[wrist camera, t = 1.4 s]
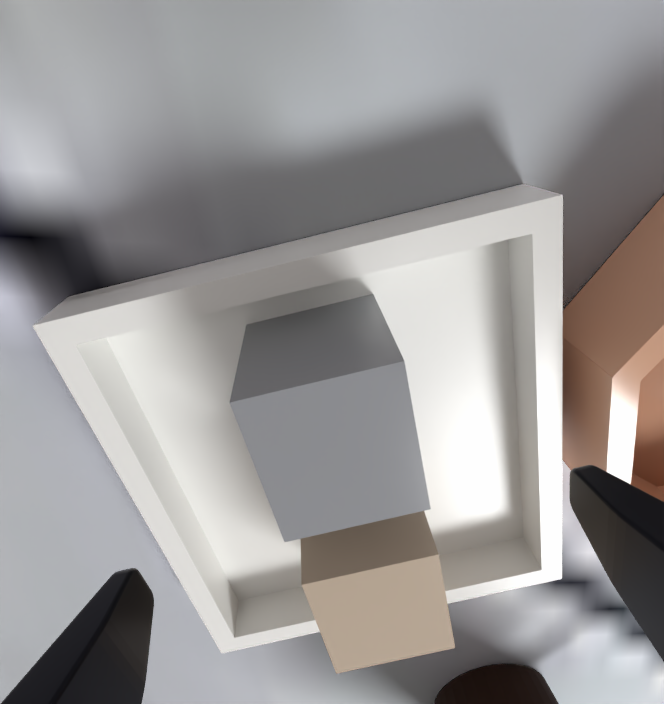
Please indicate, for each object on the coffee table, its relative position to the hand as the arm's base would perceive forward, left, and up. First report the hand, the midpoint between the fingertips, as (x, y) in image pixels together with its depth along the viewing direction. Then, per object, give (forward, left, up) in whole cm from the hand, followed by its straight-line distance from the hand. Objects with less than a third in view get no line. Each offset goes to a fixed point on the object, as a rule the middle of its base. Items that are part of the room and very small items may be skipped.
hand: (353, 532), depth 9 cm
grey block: (0, 0, -7) cm, 7 cm away
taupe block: (0, +6, -7) cm, 9 cm away
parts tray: (0, +3, -7) cm, 8 cm away
